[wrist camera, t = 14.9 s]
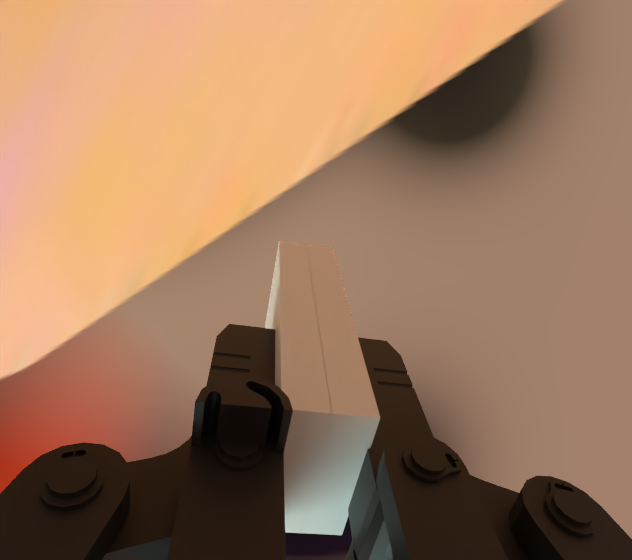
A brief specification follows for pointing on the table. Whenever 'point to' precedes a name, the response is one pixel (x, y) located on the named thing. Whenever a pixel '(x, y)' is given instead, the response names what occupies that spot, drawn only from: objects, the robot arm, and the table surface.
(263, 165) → the table surface
